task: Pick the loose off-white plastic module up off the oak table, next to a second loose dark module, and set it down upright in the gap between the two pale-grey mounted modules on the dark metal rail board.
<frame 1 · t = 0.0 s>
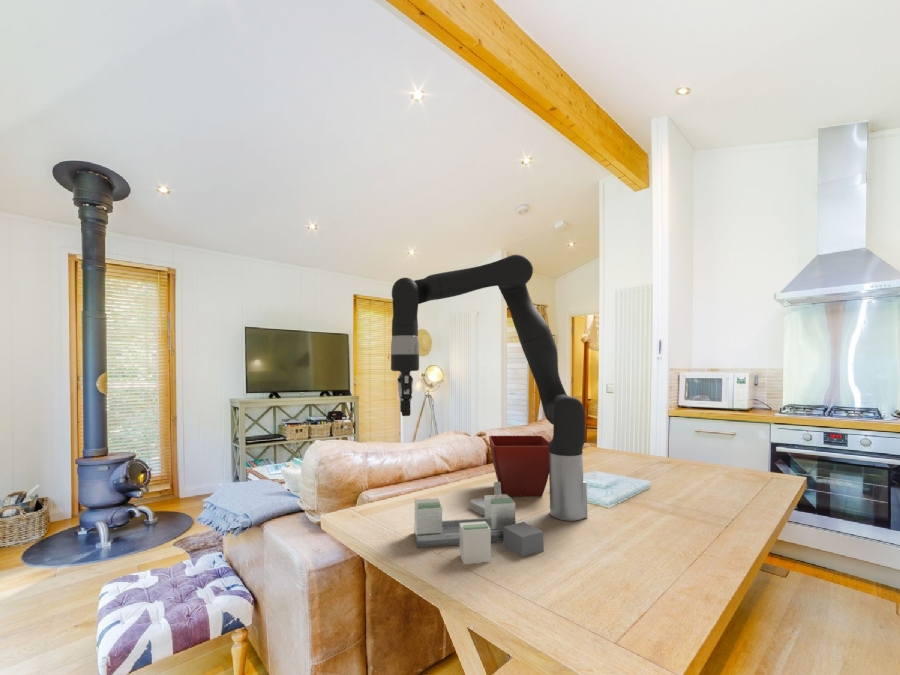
hand: (405, 414, 112), 29 cm above the table, fingers open, 8 cm apart
plant pot: (520, 492, 141), on the table
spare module: (523, 549, 97), on the table
rail board: (464, 536, 104), on the table
module: (475, 558, 92), on the table
electronic device: (488, 514, 120), on the table
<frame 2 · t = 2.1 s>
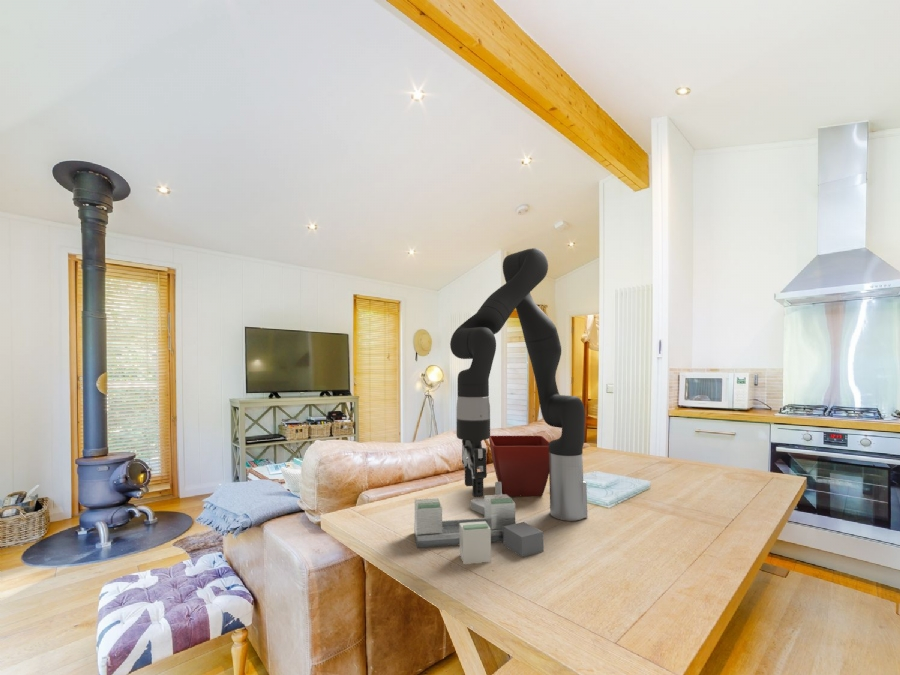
hand: (473, 491, 93), 14 cm above the table, fingers open, 8 cm apart
nothing on the table moved.
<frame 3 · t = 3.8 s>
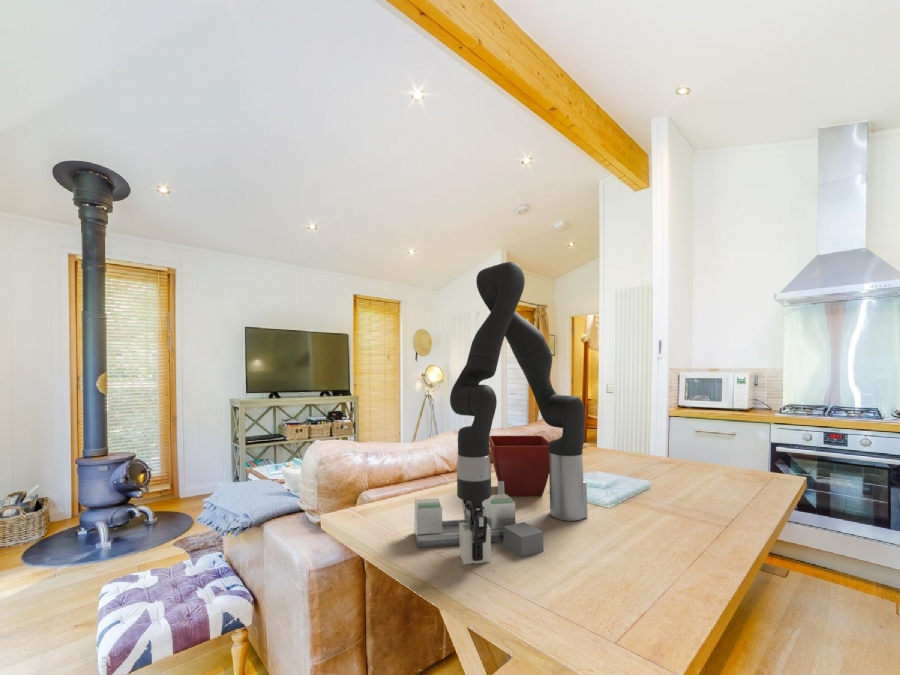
hand: (474, 554, 92), 1 cm above the table, fingers closed on module, 4 cm apart
module: (475, 558, 92), on the table, touching gripper
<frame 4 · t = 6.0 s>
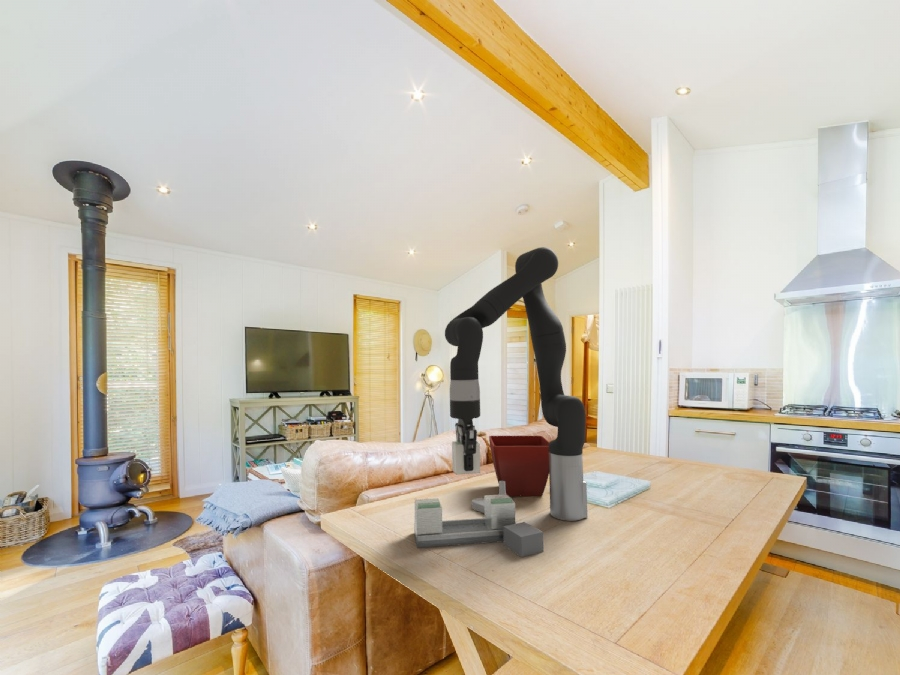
hand: (466, 467, 104), 17 cm above the table, fingers closed on module, 4 cm apart
module: (466, 471, 103), point 16 cm above the table, touching gripper
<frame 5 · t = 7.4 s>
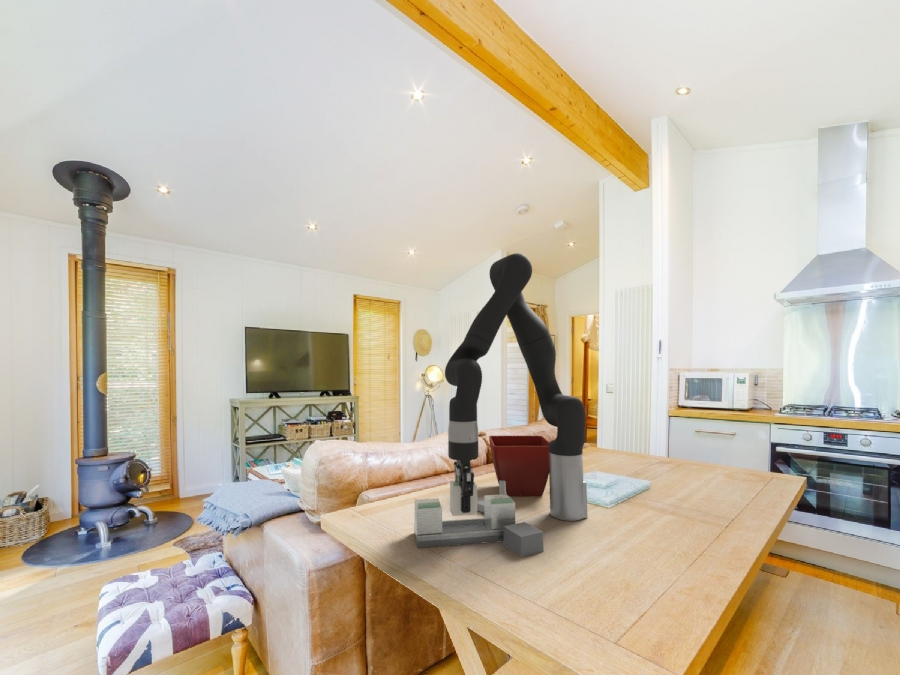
hand: (463, 508, 104), 7 cm above the table, fingers closed on module, 4 cm apart
module: (463, 512, 104), point 6 cm above the table, touching gripper
when the fingers open (4 cm above the table, at t = 8.5 s): module drops 1 cm, resting on rail board.
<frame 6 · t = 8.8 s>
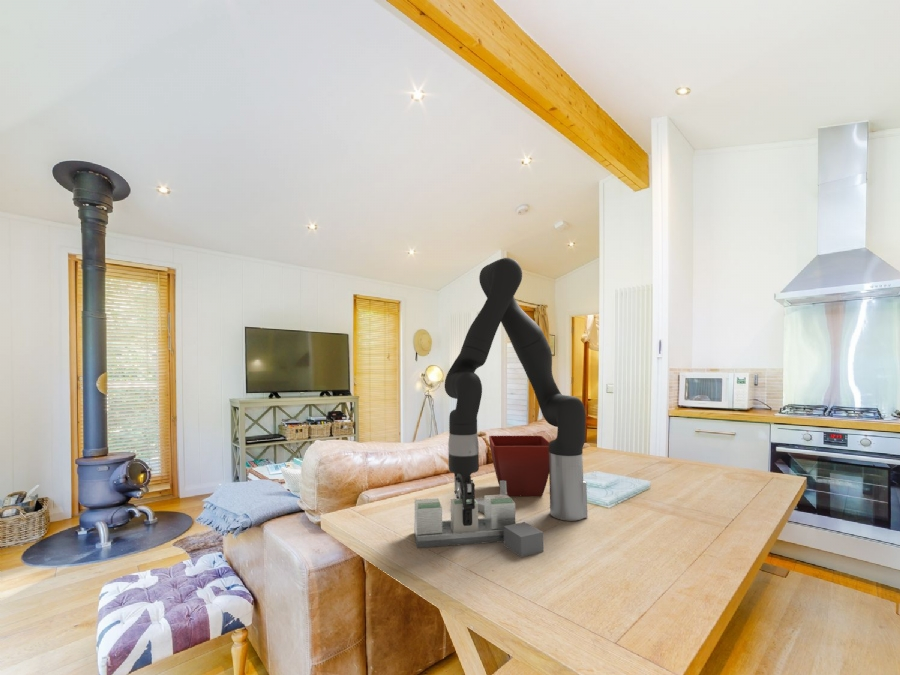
hand: (464, 519, 104), 4 cm above the table, fingers open, 7 cm apart
module: (464, 530, 104), point 1 cm above the table, touching rail board
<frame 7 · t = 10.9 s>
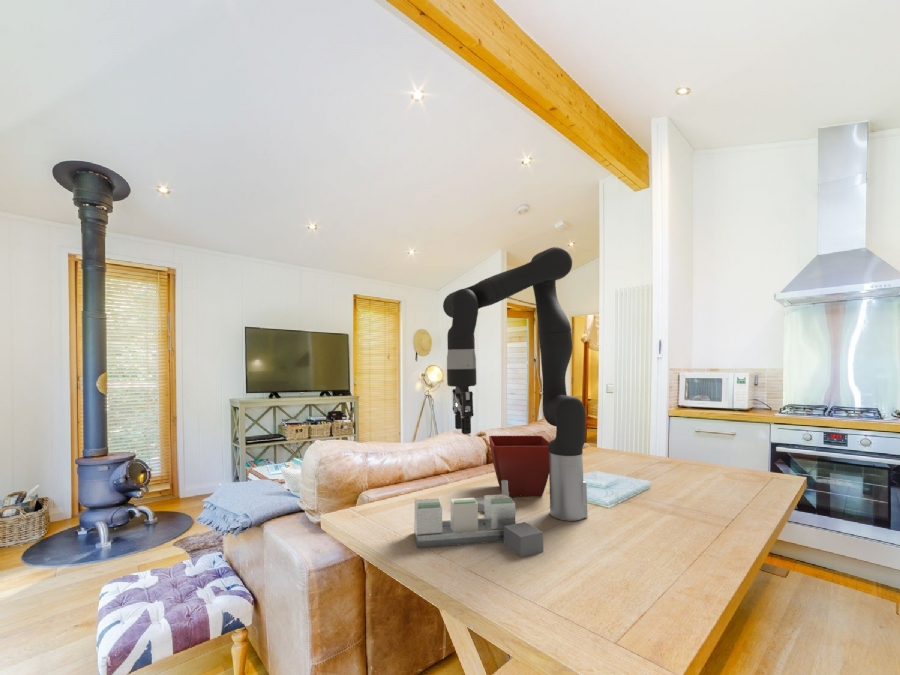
hand: (462, 431, 107), 25 cm above the table, fingers open, 8 cm apart
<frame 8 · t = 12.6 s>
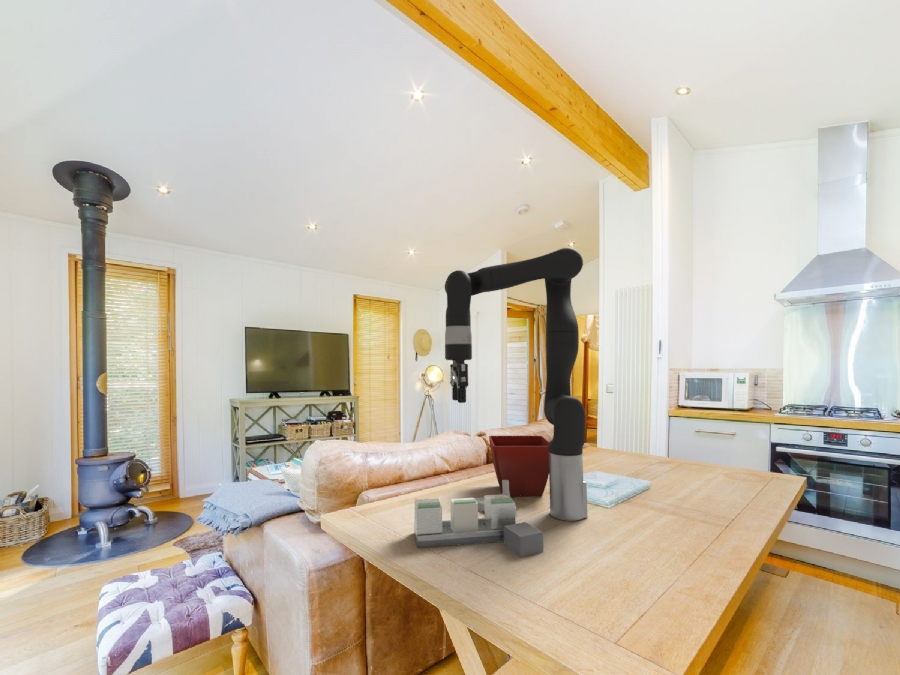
hand: (458, 401, 117), 32 cm above the table, fingers open, 8 cm apart
at the end: module inside the target area on the rail board (0.0 cm from its centre), point 1.5 cm above the rail board's base; module tilted 0°; the gripper is holding nothing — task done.
